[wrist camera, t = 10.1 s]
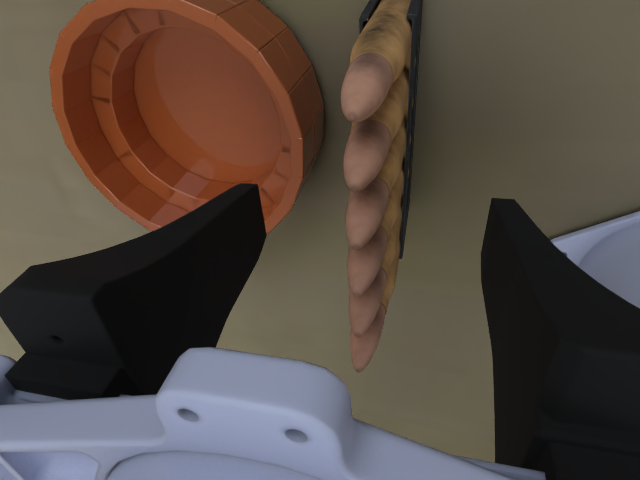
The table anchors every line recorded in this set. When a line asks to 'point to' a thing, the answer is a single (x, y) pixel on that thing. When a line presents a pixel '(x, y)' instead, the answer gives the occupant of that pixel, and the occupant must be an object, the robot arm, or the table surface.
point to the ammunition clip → (378, 160)
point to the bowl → (186, 104)
